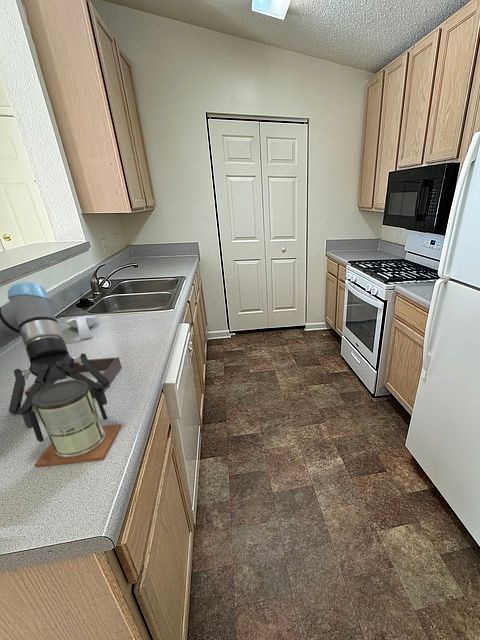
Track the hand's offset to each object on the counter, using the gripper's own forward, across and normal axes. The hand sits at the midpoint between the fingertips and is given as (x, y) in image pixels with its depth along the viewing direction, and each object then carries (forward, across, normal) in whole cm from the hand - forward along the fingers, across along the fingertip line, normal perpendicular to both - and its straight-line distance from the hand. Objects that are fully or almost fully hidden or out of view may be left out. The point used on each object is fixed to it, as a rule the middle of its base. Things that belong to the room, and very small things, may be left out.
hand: (74, 428), depth 73 cm
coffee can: (+2, 0, -6) cm, 6 cm away
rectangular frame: (-21, -4, -30) cm, 37 cm away
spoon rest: (-58, -12, -67) cm, 90 cm away
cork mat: (+3, 0, -6) cm, 7 cm away
